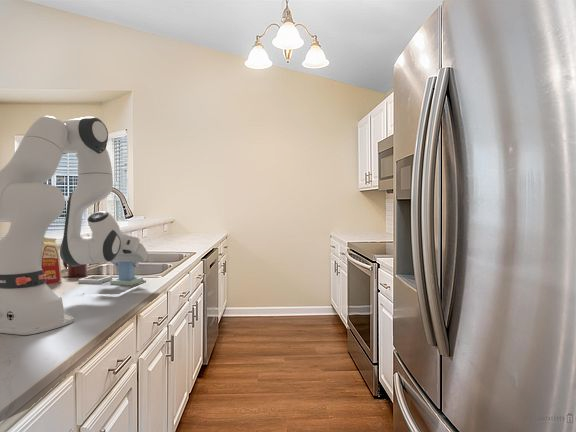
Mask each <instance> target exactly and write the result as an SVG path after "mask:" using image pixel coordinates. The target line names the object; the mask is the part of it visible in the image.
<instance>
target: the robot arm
mask: <svg viewBox="0 0 576 432" xmlns="http://www.w3.org/2000/svg"><path fill="white" fill-rule="evenodd" d="M108 141H109V131H108V128H107V126H106V124H105V123H104V122H103V120H101V119H100V118H98V117H96V116H85V117H84V116H83V117H79V118H72V119H71V118H69V119H65V120H61V119H59V118H57V117H54V116H50V115H43V116H40V117H38V118H37V119H36V120H35V121H34V122H33V123H32V124H31V126H30V127H29V128H28V129H27V131H26V132H25V134H24V135H23V137H22V139H21V141H20V143H19V145H18V147H17V148H16V151H15V152H14V154H13V156H12V157H11V159H10V160H9V161H8V162H7V163H6V164H5V165H4V166H3V167H2V168H1V169H0V223H1V222H2V223H3V222H4V223H10V226H9V228H8V231H7V233H6V235H5V236H3V237H1V238H0V334H10V335H20V336H27V335H28V336H29V335H34V334H40V333H44V332H48V331H51V330H54V329H58V328H61V327H63V326H66V325H69V324H71V323H72V322H74V321H75V320H74V317H73V316H71V315H68V314H65V311H64V303H63V298H62V297H61V296H58V295H57V294H56V293H55V292H54V290H52V288H51V287H49V286H48V284H46V278H48V277H46V278H45V276H47V274H44V271H43V269H42V268H41V256H42V242H43V238H44V237H45V235H46V233H47V231H48V229H49V227H50V226H51V225H52V223H53V222H54V221H56V219H58V218H60V216H62V214H63V213H64V210H65V208H66V211H65V220H64V221H65V222H64V229H63V236H62V237H63V238H62V239H61V243H60V247H59V248H60V249H59V258H60V260H62V262H63V261H64V262H65V263H66V264H67V265H69V266H72V267H74V266H79V265H84V264H87V265H92V264H98V263H108V262H109V263H110V264H112V265H114V266H115V267H118V268H119V262H134V263H133V266H134V267H135V268H138V267H139V265H140V263H145V262H147V259H148V257H149V256H148V255H149V252H148V250H147V249H146V247H145V246H144V245H143V244H142V243H140V241H141V240H140V238H139V237H135V236H132V235H128V234H125V233H123V232H122V230H120V226H119V224H118V222H117V221H116V219H115V217H114V216H113V215H112V214H111V213H110V212H109V211H105V210H102V211H95V212H94V213H91V214H90V215H89V216H88V217H87V223H88V226H89V228H90V230H91V232H92V234H91V236H81V231H82V221H83V216H84V213H85V211H86V210H87V209H88V208H90V207H92V206H93V205H95V204H97V203H100V202H101V201H103V200H105V199H106V198H107V197H108V196H110V194H111V193H112V191H113V187H114V179H113V176H114V175H113V167H112V162H111V158H110V154H109V151H108V150H107V145H108V143H109V142H108ZM74 153H75V157H76V158H77V160H78V161H77V184H76V186H75V189H74V190H73V191H72V192H71V193H70V194H69V196H68V200H67V205H66V199H65V196H64V194H63V191H62V190H61V189H60V188H59V187H58V186H56V185H52V184H49V183H48V184H47V183H46V182H48V181H49V180H50V179H51V178H52V177H54V175H55V173H56V171H57V168H58V167H59V164H60V162H61V160H62V157H63V155H67V154H74Z"/></svg>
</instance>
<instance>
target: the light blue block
mask: <svg viewBox="0 0 576 432" xmlns="http://www.w3.org/2000/svg"><path fill="white" fill-rule="evenodd" d="M133 263H134V262H119V267H118V278H119V280H123V281H131V280H134V279H135V277H136V267H134V266H133Z"/></svg>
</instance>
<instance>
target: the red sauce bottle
mask: <svg viewBox="0 0 576 432" xmlns="http://www.w3.org/2000/svg"><path fill="white" fill-rule="evenodd" d="M56 240H57V238H54V237H53V238H51V237H45V236H44V238H43V242H42V256H41V268H42V269H43V271H44V274H47V276H45V278H46V277H48V278H46V284H47V285H49V284H54V283H55V284H56V283H61V282H62V280H63V279H62V268H61V266H62V265H61V257H60V251H59V249H58V245H57V242H56Z"/></svg>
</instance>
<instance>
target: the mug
mask: <svg viewBox="0 0 576 432" xmlns="http://www.w3.org/2000/svg"><path fill="white" fill-rule="evenodd" d="M62 264H63V267H64V268H65V270H67V276H68V278H85V277H87V275H88V267H87V265H88V264H84V265H79V266H74V267H72V266H69V265H68V264H66V263H65V262H64V261H63V260H62Z"/></svg>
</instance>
